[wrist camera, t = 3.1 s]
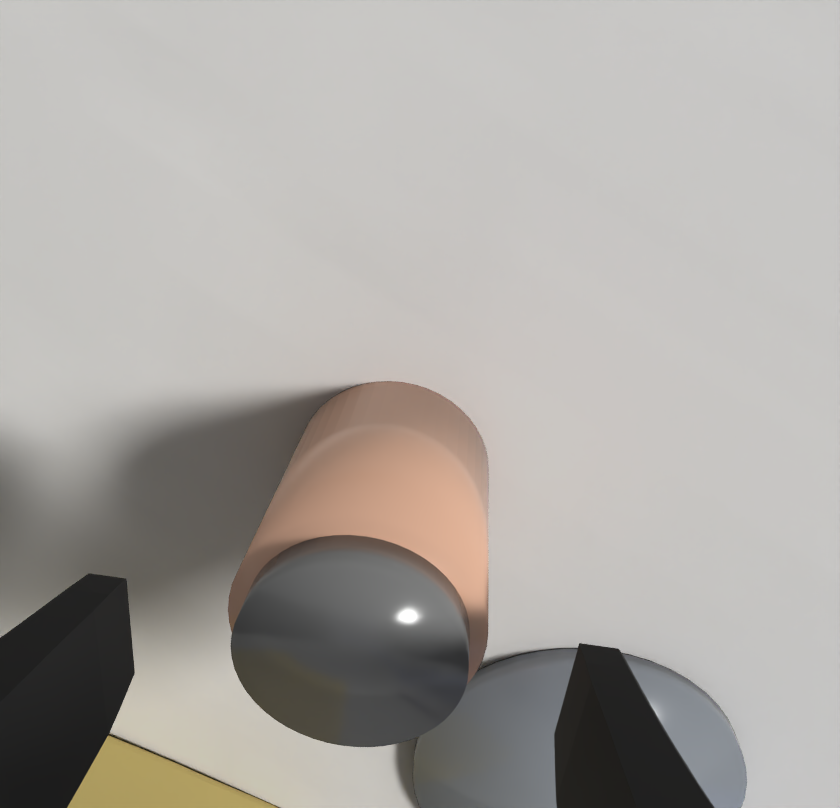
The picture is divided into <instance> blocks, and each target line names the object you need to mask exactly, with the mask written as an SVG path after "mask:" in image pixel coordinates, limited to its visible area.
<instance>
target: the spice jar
mask: <svg viewBox="0 0 840 808" xmlns="http://www.w3.org/2000/svg"><path fill="white" fill-rule="evenodd" d="M488 521H489V467H488V457H487V452H486V448H485V445H484V442H483V440H482V437H481V435H480V434H479V432H478V430H477V428H476V427H475V425H474V424H473V422H472V421H471V420H470V418H469V417H468V416H467V415H466V414H465V413H464V412H463V411H462V410H461V409H460V408H459V407H457V406H456V405H455V404H454V403H453V402H451V401H450V400H448V399H447V398H445V397H443V396H442V395H440V394H438V393H436V392H434V391H432V390H429V389H427V388H424V387H421V386H418V385H414V384H409V383H404V382H393V381H384V382H372V383H366V384H362V385H359V386H355V387H352V388H350V389H347V390H345V391H343V392H341V393H339V394H337V395H336V396H334V397H333V398H331V399H330V400H328V401H327V402H326V403H325V404H324V405H322V406H321V407H320V408H319V410H318V411H317V412H316V413H315V414H314V415H313V417H312V418H311V420H310V421H309V423H308V425H307V427H306V429H305V431H304V433H303V435H302V437H301V439H300V441H299V444H298V446H297V448H296V450H295V452H294V454H293V456H292V458H291V460H290V463H289V465H288V467H287V469H286V471H285V473H284V475H283V477H282V479H281V481H280V484H279V486H278V488H277V490H276V492H275V494H274V496H273V498H272V500H271V502H270V505H269V507H268V509H267V511H266V513H265V515H264V517H263V519H262V521H261V524H260V526H259V528H258V530H257V532H256V534H255V536H254V538H253V540H252V542H251V545H250V547H249V549H248V551H247V553H246V555H245V557H244V559H243V561H242V563H241V566H240V568H239V570H238V572H237V574H236V576H235V579H234V581H233V583H232V587H231V591H230V595H229V604H228V613H229V623H230V627H231V630H232V637H231V654H232V660H233V664H234V668H235V671H236V673H237V675H238V678H239V680H240V682H241V683H242V685H243V687H244V688H245V690H246V691H247V693H248V694H249V695H250V696H251V698H252V699H253V700H254V701H255V702H256V703H257V704H258V705H259V706H260V707H261V708H262V709H263V710H264V711H265V712H266V713H268V714H269V715H270V716H271V717H273V718H274V719H275V720H277V721H278V722H280V723H282V724H283V725H285V726H286V727H288V728H290V729H292V730H294V731H296V732H298V733H300V734H303V735H306V736H308V737H311V738H313V739H317V740H320V741H324V742H327V743H332V744H337V745H343V746H353V747H376V746H386V745H391V744H397V743H401V742H404V741H408V740H411V739H413V738H416V737H418V736H420V735H423V734H425V733H426V732H428V731H430V730H432V729H433V728H435V727H436V726H438V725H439V724H440V723H442V722H443V721H444V720H445V719H446V718H447V717H448V716H449V715H450V714H451V713H452V712H453V711H454V709H455V708H456V706H457V705H458V704H459V702H460V700H461V698H462V696H463V694H464V692H465V688H466V685H467V684H468V683H469V682H470V680H471V679H472V677H473V676H474V675H475V673H476V672H477V670H478V668H479V666H480V664H481V662H482V660H483V657H484V654H485V650H486V647H487V639H488Z"/></svg>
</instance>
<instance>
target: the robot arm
mask: <svg viewBox="0 0 840 808" xmlns="http://www.w3.org/2000/svg"><path fill="white" fill-rule="evenodd" d="M134 673H135V671H134V660H133V649H132V638H131V626H130V615H129V604H128V593H127V581H126V579H124V578H117V577H110V576H103V575H96V574H87V575H86V576H85V577H83V578H82V579H80V580H79V581H78V582H76V583H75V584H73V585H72V586H71V587H69V588H68V589H66V590H65V591H64V592H62V593H61V594H60V595H58V596H57V597H56V598H54V599H53V600H51V601H50V602H49V603H47V604H46V605H45V606H43V607H42V608H41V609H39V610H38V611H37V612H35V613H34V614H32V615H31V616H30V617H28V618H27V619H26V620H24V621H23V622H22V623H20V624H19V625H18V626H16V627H15V628H13V629H12V630H11V631H9V632H8V633H7V634H5V635H4V636H2V637H1V638H0V808H67V807H68V805H69V804H70V802H71V800H72V798H73V797H74V795H75V793H76V792H77V790H78V788H79V786H80V785H81V783H82V781H83V779H84V777H85V776H86V774H87V772H88V770H89V769H90V767H91V765H92V763H93V762H94V760H95V758H96V756H97V754H98V753H99V751H100V749H101V747H102V745H103V744H104V742H105V740H106V738H107V736H108V735H109V732H110V730H111V728H112V725H113V723H114V721H115V719H116V716H117V714H118V712H119V710H120V707H121V705H122V702H123V700H124V698H125V695H126V693H127V690H128V688H129V685H130V683H131V680H132V678H133V676H134ZM554 747H555V785H556V804H557V808H715V807H714V806H713V804H712V803H711V801H710V800H709V798H708V797H707V795H706V794H705V792H704V791H703V789H702V788H701V786H700V785H699V783H698V782H697V780H696V779H695V777H694V775H693V774H692V772H691V771H690V769H689V768H688V766H687V764H686V763H685V761H684V760H683V758H682V756H681V755H680V753H679V752H678V750H677V748H676V747H675V745H674V744H673V742H672V740H671V739H670V737H669V735H668V734H667V732H666V730H665V729H664V727H663V725H662V724H661V722H660V720H659V718H658V717H657V715H656V713H655V711H654V710H653V708H652V706H651V705H650V703H649V701H648V699H647V697H646V696H645V694H644V692H643V690H642V689H641V687H640V685H639V683H638V681H637V680H636V678H635V676H634V674H633V672H632V670H631V668H630V667H629V665H628V663H627V661H626V659H625V657H624V656H623V654H622V653H621V652H620V650H619V649H616V648H609V647H602V646H595V645H588V644H581V643H579V646H578V650H577V654H576V657H575V661H574V664H573V668H572V672H571V675H570V679H569V682H568V686H567V690H566V693H565V697H564V700H563V704H562V708H561V711H560V715H559V718H558V722H557V726H556V729H555V733H554Z"/></svg>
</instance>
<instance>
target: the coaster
mask: <svg viewBox="0 0 840 808" xmlns="http://www.w3.org/2000/svg"><path fill="white" fill-rule="evenodd" d="M577 650H578V649H557V650H547V651H538V652H533V653H528V654H524V655H519V656H515V657H512V658H509V659H505V660H502V661H499V662H496V663H494V664H492V665H489V666H487V667H485V668H483V669H480V670H478V671H477V672H476V673H475V675H474V676H473V677H472V679H471V680H470V682H469V683H468V684H467V685H466V688H465V692H464V694H463V696H462V698H461V700H460V702H459V704H458V705H457V706H456V708H455V709H454V711H453V712H452V713H451V714H450V715H449V716H448V717H447V718H446V719H445V720H444V721H443V722H442V723H440V724H439V725H438V726H436V727H435V728H433V729H432V730H430V731H428V732H426V733H425V734H423V735H420V736H418V738H417V742H416V746H415V756H414V767H413V783H414V791H415V795H416V798H417V801H418V804H419V806H420V808H557V804H556V785H555V747H554V733H555V729H556V726H557V722H558V718H559V715H560V711H561V708H562V704H563V700H564V697H565V693H566V690H567V686H568V682H569V679H570V675H571V672H572V668H573V664H574V661H575V657H576V654H577ZM623 656H624V657H625V659H626V661H627V663H628V665H629V667H630V668H631V670H632V672H633V674H634V676H635V678H636V680H637V681H638V683H639V685H640V687H641V689H642V690H643V692H644V694H645V696H646V697H647V699H648V701H649V703H650V705H651V706H652V708H653V710H654V711H655V713H656V715H657V717H658V718H659V720H660V722H661V724H662V725H663V727H664V729H665V730H666V732H667V734H668V735H669V737H670V739H671V740H672V742H673V744H674V745H675V747H676V748H677V750H678V752H679V753H680V755H681V756H682V758H683V760H684V761H685V763H686V764H687V766H688V768H689V769H690V771H691V772H692V774H693V775H694V777H695V779H696V780H697V782H698V783H699V785H700V786H701V788H702V789H703V791H704V792H705V794H706V795H707V797H708V798H709V800H710V801H711V803H712V804H713V806H714V807H715V808H741V807H742V804H743V801H744V798H745V792H746V786H747V777H746V766H745V762H744V758H743V754H742V751H741V749H740V746H739V743H738V740H737V737H736V734H735V732H734V730H733V728H732V726H731V724H730V722H729V720H728V718H727V717H726V715H725V714H724V712H723V711H722V710H721V708H720V707H719V705H718V704H717V703H716V702H715V701H714V700H713V699H712V698H711V697H710V696H709V695H708V694H707V693H706V692H704V691H703V690H702V689H701V688H699V687H698V686H697V685H695V684H694V683H693V682H691V681H690V680H688V679H686V678H685V677H683V676H681V675H680V674H678V673H676V672H674V671H673V670H670V669H668V668H666V667H663V666H661V665H659V664H656V663H654V662H651V661H648V660H645V659H641V658H638V657H635V656H631V655H626V654H623Z"/></svg>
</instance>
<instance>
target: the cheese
mask: <svg viewBox="0 0 840 808" xmlns="http://www.w3.org/2000/svg"><path fill="white" fill-rule="evenodd" d="M67 808H279V807H277V806H274V805H272V804H270V803H267V802H265V801H263V800H261V799H258V798H256V797H253V796H251V795H249V794H246V793H244V792H242V791H239V790H237V789H235V788H232V787H230V786H228V785H225V784H223V783H220V782H218V781H216V780H213V779H211V778H209V777H206V776H204V775H202V774H199V773H197V772H195V771H193V770H191V769H188V768H186V767H184V766H182V765H180V764H177V763H175V762H172V761H170V760H168V759H165V758H163V757H160V756H158V755H156V754H153V753H151V752H149V751H146V750H144V749H141V748H139V747H136V746H134V745H131V744H129V743H126V742H124V741H121V740H119V739H116V738H114V737H112V736H109V735H108V736H107V738H106V740H105V742H104V744H103V745H102V747H101V749H100V751H99V753H98V754H97V756H96V758H95V760H94V762H93V763H92V765H91V767H90V769H89V770H88V772H87V774H86V776H85V777H84V779H83V781H82V783H81V785H80V786H79V788H78V790H77V792H76V793H75V795H74V797H73V798H72V800H71V802H70V804H69V805H68V807H67Z"/></svg>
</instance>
